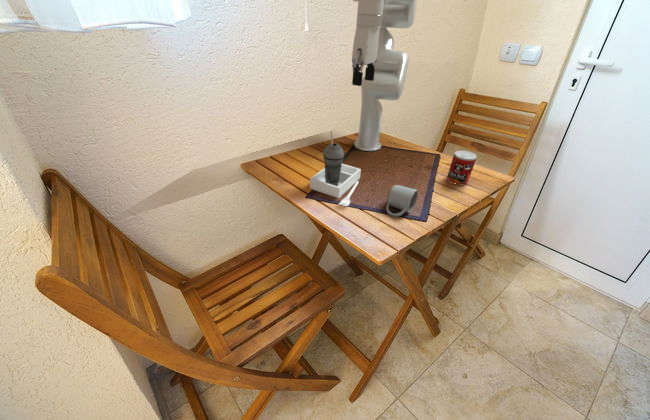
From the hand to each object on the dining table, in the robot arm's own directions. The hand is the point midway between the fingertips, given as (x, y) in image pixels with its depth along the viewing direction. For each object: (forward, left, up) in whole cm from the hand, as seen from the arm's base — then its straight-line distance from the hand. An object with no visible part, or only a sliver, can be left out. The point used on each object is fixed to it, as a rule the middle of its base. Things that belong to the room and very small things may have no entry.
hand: (363, 82), depth 96 cm
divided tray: (+13, -1, -33) cm, 36 cm away
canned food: (-15, +37, -34) cm, 52 cm away
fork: (+17, +7, -34) cm, 38 cm away
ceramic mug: (+16, +24, -34) cm, 45 cm away
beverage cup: (+16, -1, -33) cm, 36 cm away
